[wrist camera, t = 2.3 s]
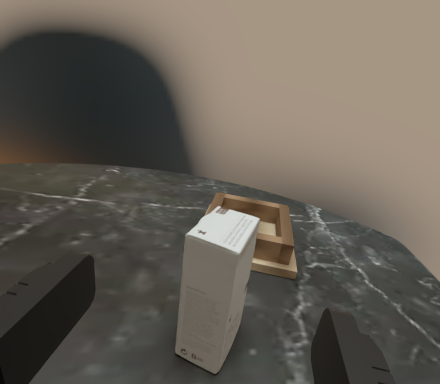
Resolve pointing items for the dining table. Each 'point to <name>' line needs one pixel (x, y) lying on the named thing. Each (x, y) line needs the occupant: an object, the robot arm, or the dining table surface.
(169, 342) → the dining table surface
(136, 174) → the dining table surface
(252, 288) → the dining table surface
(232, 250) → the skincare box
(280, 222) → the socket board
